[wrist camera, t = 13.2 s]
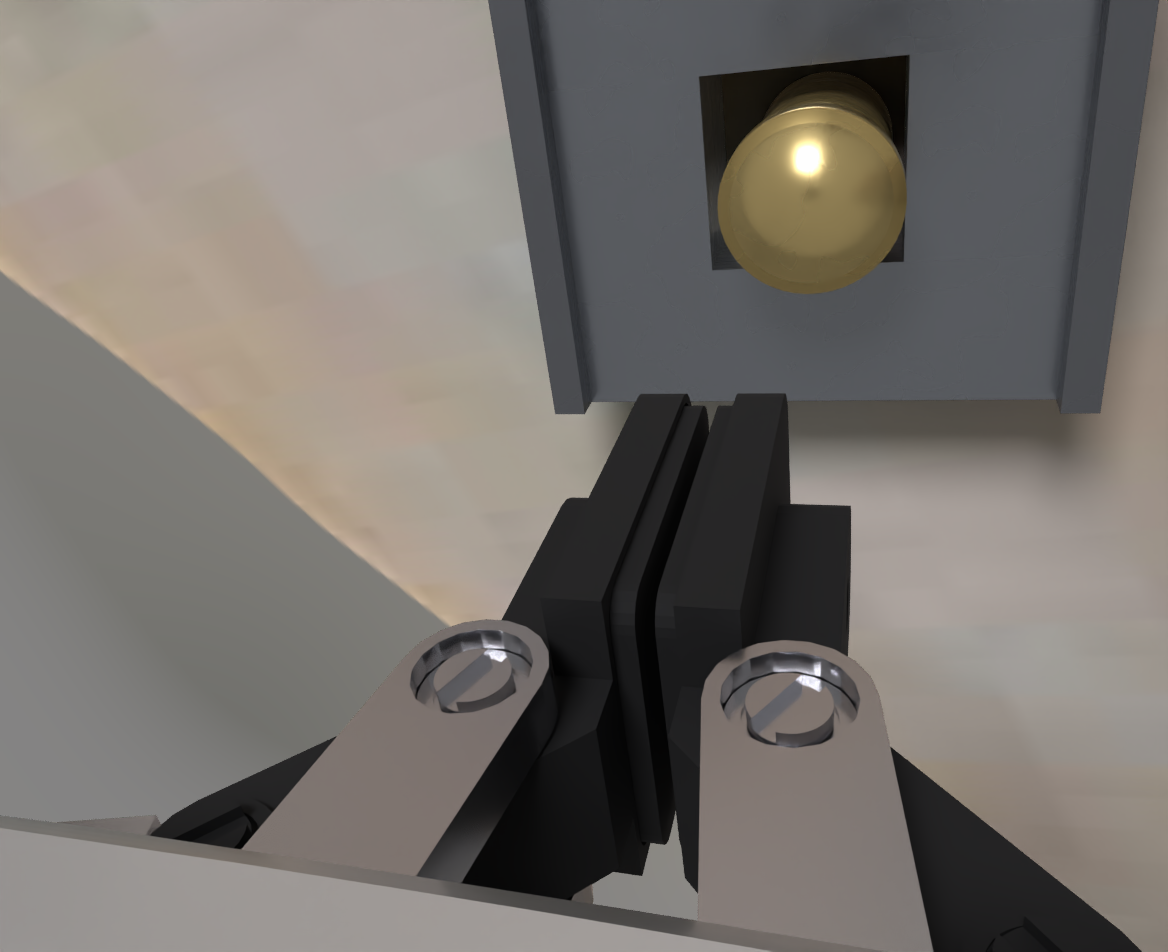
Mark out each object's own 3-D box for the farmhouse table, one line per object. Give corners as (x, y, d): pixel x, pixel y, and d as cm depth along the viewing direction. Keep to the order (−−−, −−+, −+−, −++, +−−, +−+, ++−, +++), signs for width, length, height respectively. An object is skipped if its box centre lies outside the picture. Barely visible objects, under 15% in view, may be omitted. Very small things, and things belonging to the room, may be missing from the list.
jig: (533, -81, 29) (476, -76, 25) (1135, -177, 24) (1185, -190, 20) (593, 354, 36) (555, 414, 32) (1072, 344, 31) (1100, 413, 27)
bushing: (748, 65, 29) (714, 114, 23) (908, 55, 28) (914, 104, 22) (749, 216, 32) (719, 293, 26) (897, 213, 30) (900, 294, 25)
